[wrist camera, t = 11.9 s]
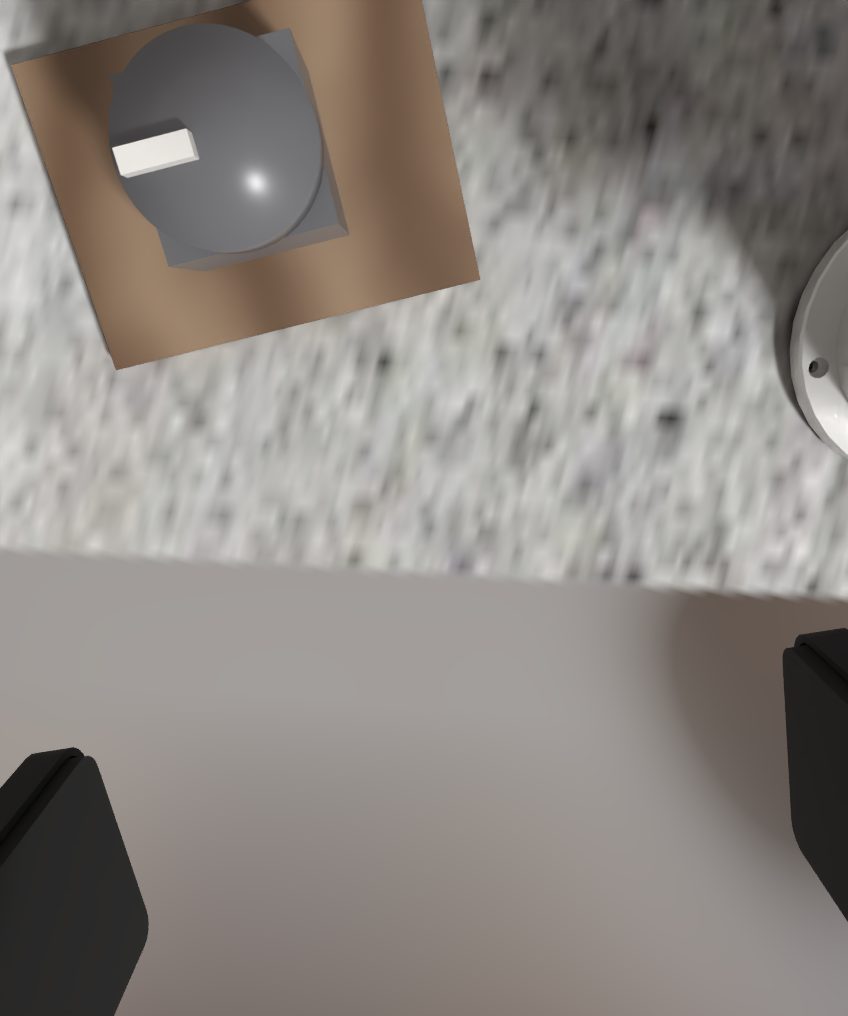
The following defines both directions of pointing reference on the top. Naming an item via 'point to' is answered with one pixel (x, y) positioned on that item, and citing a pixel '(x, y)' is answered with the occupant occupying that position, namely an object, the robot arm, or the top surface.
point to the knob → (224, 146)
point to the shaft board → (355, 160)
